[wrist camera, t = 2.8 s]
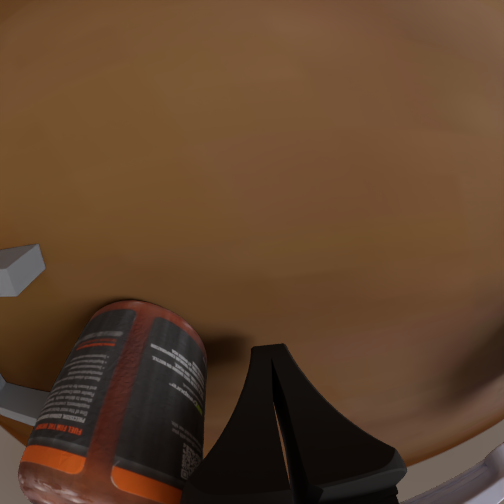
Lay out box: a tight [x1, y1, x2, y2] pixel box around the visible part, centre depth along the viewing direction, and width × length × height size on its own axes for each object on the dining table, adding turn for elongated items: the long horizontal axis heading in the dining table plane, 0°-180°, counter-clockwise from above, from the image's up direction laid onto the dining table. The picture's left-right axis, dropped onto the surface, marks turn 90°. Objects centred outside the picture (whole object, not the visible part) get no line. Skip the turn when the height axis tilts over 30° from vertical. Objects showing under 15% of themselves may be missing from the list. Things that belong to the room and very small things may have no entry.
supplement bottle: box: [18, 300, 207, 504], centre depth 7 cm, size 6×6×11 cm
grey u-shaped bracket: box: [0, 244, 50, 426], centre depth 11 cm, size 11×11×2 cm
